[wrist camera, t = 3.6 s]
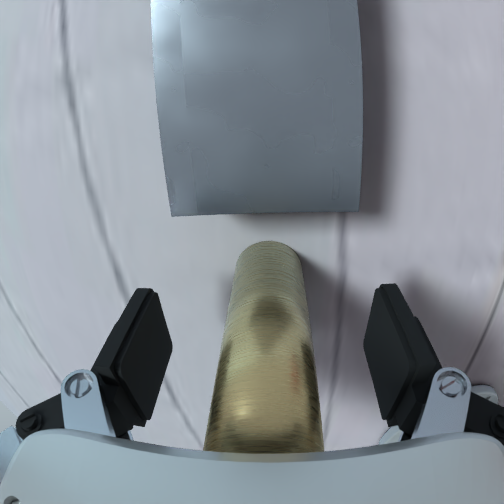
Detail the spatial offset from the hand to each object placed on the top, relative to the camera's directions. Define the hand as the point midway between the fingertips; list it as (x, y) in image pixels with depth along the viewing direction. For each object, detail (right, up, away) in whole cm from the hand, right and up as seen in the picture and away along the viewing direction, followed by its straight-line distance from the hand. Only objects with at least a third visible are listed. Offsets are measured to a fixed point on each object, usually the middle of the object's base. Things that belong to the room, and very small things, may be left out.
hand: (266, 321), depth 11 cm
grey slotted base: (-1, +15, -4) cm, 15 cm away
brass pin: (0, +2, +3) cm, 4 cm away
